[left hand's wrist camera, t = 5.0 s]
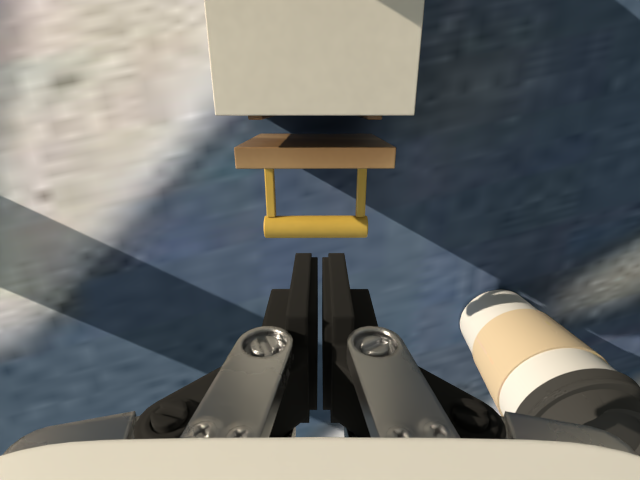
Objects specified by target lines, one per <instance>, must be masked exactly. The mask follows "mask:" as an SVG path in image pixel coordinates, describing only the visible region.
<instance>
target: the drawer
mask: <svg viewBox="0 0 640 480" xmlns="http://www.w3.org/2000/svg"><path fill="white" fill-rule="evenodd" d="M273 116H276V115H262V116H248V119H249V120H262V119H266V118H269V117H273ZM355 116H359V117H362V118H365V119H368V120H381V119H382V115H355ZM234 152H235V164H236V168H237V169H264V171H265V189H266V207H267V216H265V218H264V235H265V237H266V238H366V237H367V234H368V219H367V216H365V201H366V180H367V169H394V168H395V158H396V147H394V146H393V145H391V144H389V143H387V142H385V141H384V140H382V139H380V138H378V137H376V136H374V135H373V134H259V135H257V136H255V137H254V138H252V139H250V140H248V141H246V142H244V143H242V144H240V145H238V146H236V147H234ZM274 169H357V192H356V216H276V199H275V177H274Z"/></svg>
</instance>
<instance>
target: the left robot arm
mask: <svg viewBox="0 0 640 480" xmlns="http://www.w3.org/2000/svg"><path fill="white" fill-rule="evenodd" d="M317 352H318V258H317V257H312V255H311V253H296V255H295V261H294V268H293V274H292V280H291V286H290V289H272V290H271V294H270V298H269V301H268V305H267V309H266V313H265V317H264V321H263V324H262V327H257V328H254V329H251V330H249V331H247V332H246V333H244V334H243V335H241V337H240V338H239V339H238V340H237V342H236V344H235V345H234V347H233V349H232V350H231V352H230V354H229V355H228V357H227V359H226V360H225V362H224V364H223V365H222V366H221V367H220V368H218V369H216V370H214V371H212V372H210V373H209V374H207V375H205V376H203V377H201V378H199V379H198V380H196V381H194V382H192V383H190V384H189V385H187V386H185V387H183V388H181V389H179V390H178V391H176V392H174V393H172V394H170V395H168V396H167V397H165V398H163V399H161V400H159V401H157V402H156V403H154V404H153V405H151V406H150V407H149V408H147V409H146V410H145V411H144V412H143V413H142V414H141V415H140V416H137V417H136V413H135V411H133V412H127V413H122V414H116V415H110V416H105V417H99V418H94V419H88V420H82V421H77V422H71V423H66V424H60V425H54V426H49V427H45V428H42V429H39V430H35V431H33V432H31V433H30V434H28V435H26V436H24V437H22V438H21V439H19V440H18V441H17V442H15V443H14V444H13V445H11V446H10V447H9V448H8V449H7V450H6V452H5V453H4V454H3V455H2V456H0V480H640V456H638V455H637V454H636V453H635V452H634V450H633V449H632V448H631V447H630V446H629V445H627V444H626V443H625V442H623V441H622V440H621V439H619V438H618V437H616V436H614V435H612V434H610V433H609V432H607V431H605V430H601V429H598V428H595V427H591V426H586V425H580V424H574V423H569V422H563V421H558V420H552V419H546V418H541V417H535V416H530V415H524V414H518V413H513V412H507V411H505V413H504V417H503V416H500V415H499V414H498V413H497V412H496V411H495V410H494V409H493V408H491V407H490V406H489V405H487V404H486V403H484V402H483V401H481V400H479V399H477V398H475V397H473V396H472V395H470V394H468V393H466V392H464V391H462V390H461V389H459V388H457V387H455V386H453V385H451V384H450V383H448V382H446V381H444V380H442V379H441V378H439V377H437V376H435V375H433V374H431V373H430V372H428V371H426V370H424V369H422V368H420V367H419V366H418V365H417V364H416V362H415V360H414V359H413V357H412V355H411V354H410V352H409V350H408V349H407V347H406V345H405V344H404V342H403V340H402V339H401V338H400V337H399V335H397V334H396V333H394V332H393V331H391V330H389V329H386V328H383V327H378V324H377V321H376V317H375V313H374V309H373V305H372V302H371V298H370V294H369V291H368V289H350V286H349V280H348V274H347V268H346V261H345V255H344V253H329V255H328V257H323V258H322V352H323V410H330V411H331V423H340V424H342V425H343V426H344V436H345V438H342V437H298V438H295V436H296V426H297V425H298V424H300V423H309V411H310V410H317Z"/></svg>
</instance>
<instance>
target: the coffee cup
mask: <svg viewBox="0 0 640 480" xmlns="http://www.w3.org/2000/svg"><path fill="white" fill-rule="evenodd" d="M460 329H461V332H462V334H463V336H464V338H465V340H466V342H467V344H468V346H469V348H470V350H471V352H472V354H473V358H474V361H475V363H476V365H477V367H478V369H479V372H480V374H481V376H482V378H483V380H484V382H485V384H486V386H487V388H488V390H489V392H490V394H491V396H492V398H493V400H494V402H495V404H496V406H497V408H498V410H499V412H500V414H501V416H503V417H504V413H505V411H507V412H513V413H518V414H524V415H530V416H535V417H541V418H546V419H552V420H558V421H563V422H569V423H574V424H580V425H586V426H591V427H595V428H598V429H601V430H605V431H607V432H609V433H610V434H612V435H614V436H616V437H618V438H619V439H621V440H622V441H623V442H625V443H626V444H627V445H629V446H630V447H631V448H632V449H633V450H634V452H635V453H636V454H637V455H638V456H640V387H639V385H638V384H637V383H636V382H635V381H634V380H633V379H631V378H630V377H628V376H627V375H625V374H623V373H620V372H617V371H616V370H615V369H613V368H612V367H611V366H610V365H609V364H608V363H607V361H606V360H605V359H604V358H603V357H602V356H600V355H599V354H598V353H597V352H595V351H594V350H593V349H591V348H590V347H589V346H587V345H586V344H585V343H583V342H582V341H581V340H580V339H578V338H577V337H576V336H574V335H573V334H572V333H570V332H569V331H568V330H566V329H565V328H564V327H563V326H561V325H560V324H559V323H557V322H556V321H555V320H553V319H552V318H551V317H549V316H548V315H547V314H545V313H543V312H541V311H539V310H537V309H536V308H535V307H534V306H532V305H531V304H530V303H528V302H527V301H526V300H524V299H523V298H522V297H521V296H519V295H518V294H516V293H514V292H512V291H508V290H493V291H489V292H486V293H483V294H481V295H479V296H478V297H476V298H475V299H473V300H472V301H471V302H470V303H469V304H468V305H467V306H466V308H465V309H464V311H463V313H462V315H461V319H460Z"/></svg>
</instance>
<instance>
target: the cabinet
mask: <svg viewBox="0 0 640 480" xmlns="http://www.w3.org/2000/svg"><path fill="white" fill-rule="evenodd" d="M424 2H425V0H204V6H205V16H206V26H207V36H208V46H209V56H210V66H211V76H212V86H213V96H214V106H215V115H217V116H262V115H414V113H415V102H416V91H417V80H418V69H419V57H420V46H421V35H422V24H423V13H424Z"/></svg>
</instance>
